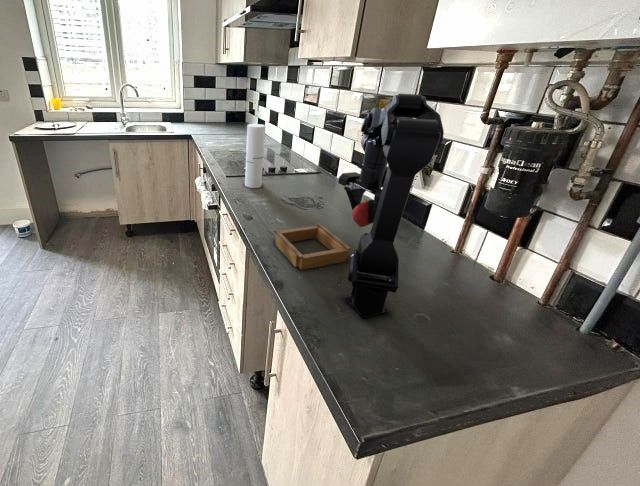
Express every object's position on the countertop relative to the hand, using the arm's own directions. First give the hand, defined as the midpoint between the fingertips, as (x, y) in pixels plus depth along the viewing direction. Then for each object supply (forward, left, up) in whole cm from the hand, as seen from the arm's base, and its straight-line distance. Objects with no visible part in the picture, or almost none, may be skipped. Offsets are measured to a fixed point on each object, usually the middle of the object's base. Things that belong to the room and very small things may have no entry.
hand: (362, 218), depth 87 cm
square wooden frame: (+4, +13, -10) cm, 17 cm away
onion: (0, 0, -3) cm, 3 cm away
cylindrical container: (+59, +8, -11) cm, 60 cm away
